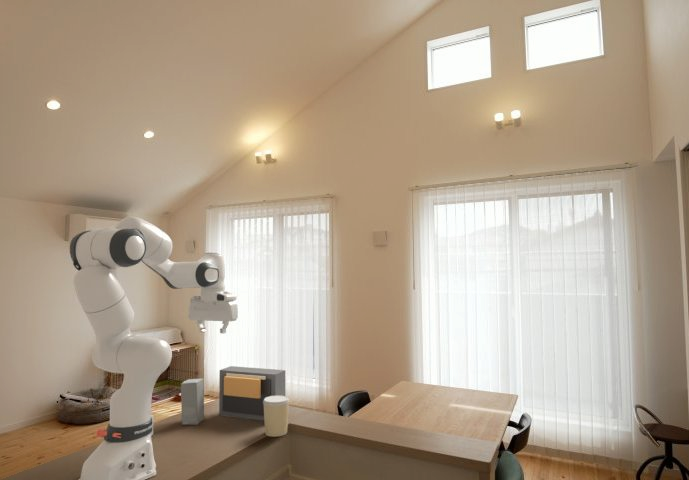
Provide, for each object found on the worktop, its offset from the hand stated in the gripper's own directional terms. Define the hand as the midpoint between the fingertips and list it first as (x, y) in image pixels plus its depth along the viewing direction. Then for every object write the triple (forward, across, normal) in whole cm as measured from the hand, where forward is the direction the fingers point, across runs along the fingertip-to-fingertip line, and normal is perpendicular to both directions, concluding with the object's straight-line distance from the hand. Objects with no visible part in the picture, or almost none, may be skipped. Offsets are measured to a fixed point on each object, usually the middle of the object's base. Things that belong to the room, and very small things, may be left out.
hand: (212, 332), depth 170 cm
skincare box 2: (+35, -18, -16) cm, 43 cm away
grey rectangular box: (+35, +6, +18) cm, 40 cm away
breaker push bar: (+26, +6, +11) cm, 29 cm away
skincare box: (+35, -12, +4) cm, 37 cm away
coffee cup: (+35, +25, +4) cm, 44 cm away
